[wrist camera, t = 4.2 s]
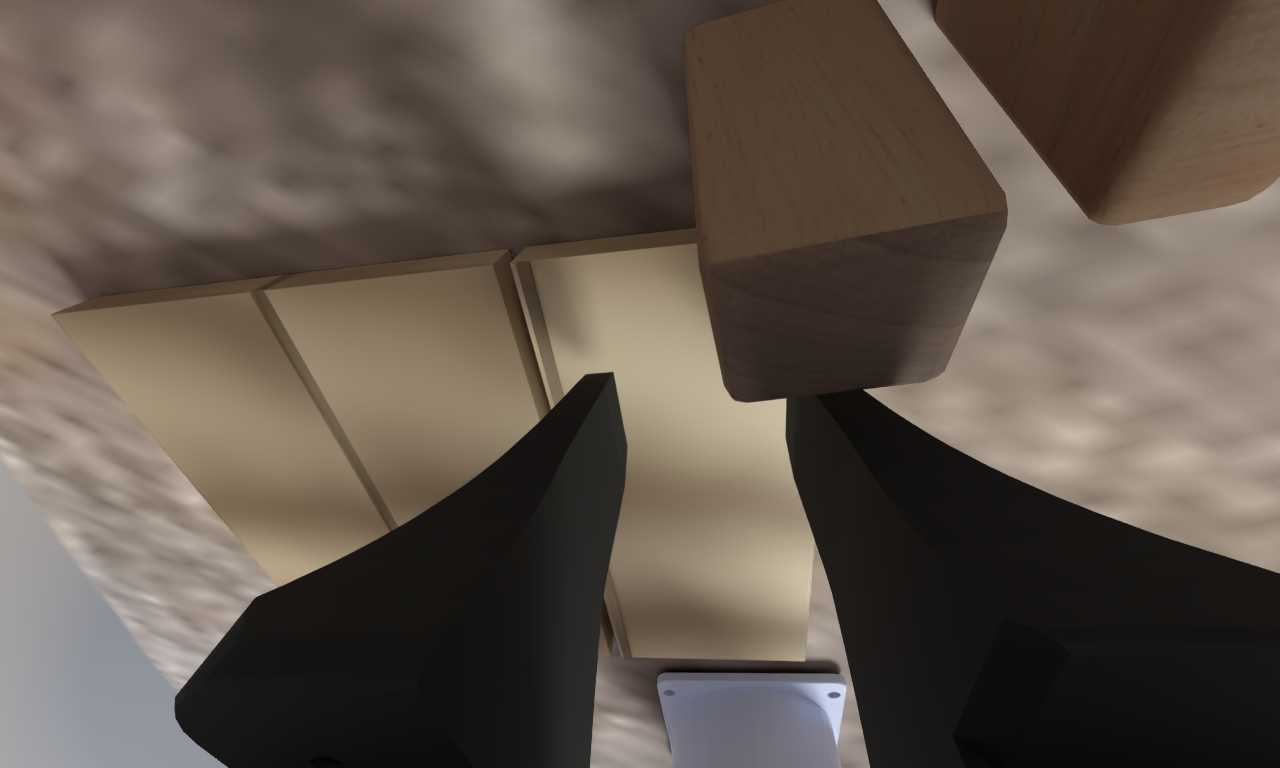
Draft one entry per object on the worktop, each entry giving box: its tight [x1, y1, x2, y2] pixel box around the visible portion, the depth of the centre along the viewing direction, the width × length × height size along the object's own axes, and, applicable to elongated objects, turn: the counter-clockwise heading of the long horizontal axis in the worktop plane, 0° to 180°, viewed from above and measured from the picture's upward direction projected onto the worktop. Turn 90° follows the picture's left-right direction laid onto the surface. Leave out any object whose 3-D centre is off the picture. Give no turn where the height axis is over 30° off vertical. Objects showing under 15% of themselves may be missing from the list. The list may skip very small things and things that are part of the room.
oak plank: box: [510, 228, 815, 661], centre depth 15 cm, size 16×7×1 cm, turn 8°
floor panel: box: [51, 249, 614, 657], centre depth 16 cm, size 16×12×1 cm
